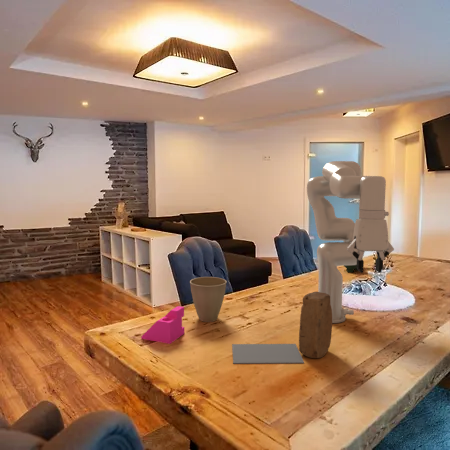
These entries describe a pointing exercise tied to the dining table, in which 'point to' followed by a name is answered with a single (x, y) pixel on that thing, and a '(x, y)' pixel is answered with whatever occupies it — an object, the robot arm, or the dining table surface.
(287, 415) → the dining table surface
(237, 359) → the mat
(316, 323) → the block
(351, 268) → the toy figurine
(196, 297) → the plant pot
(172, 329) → the bracket
